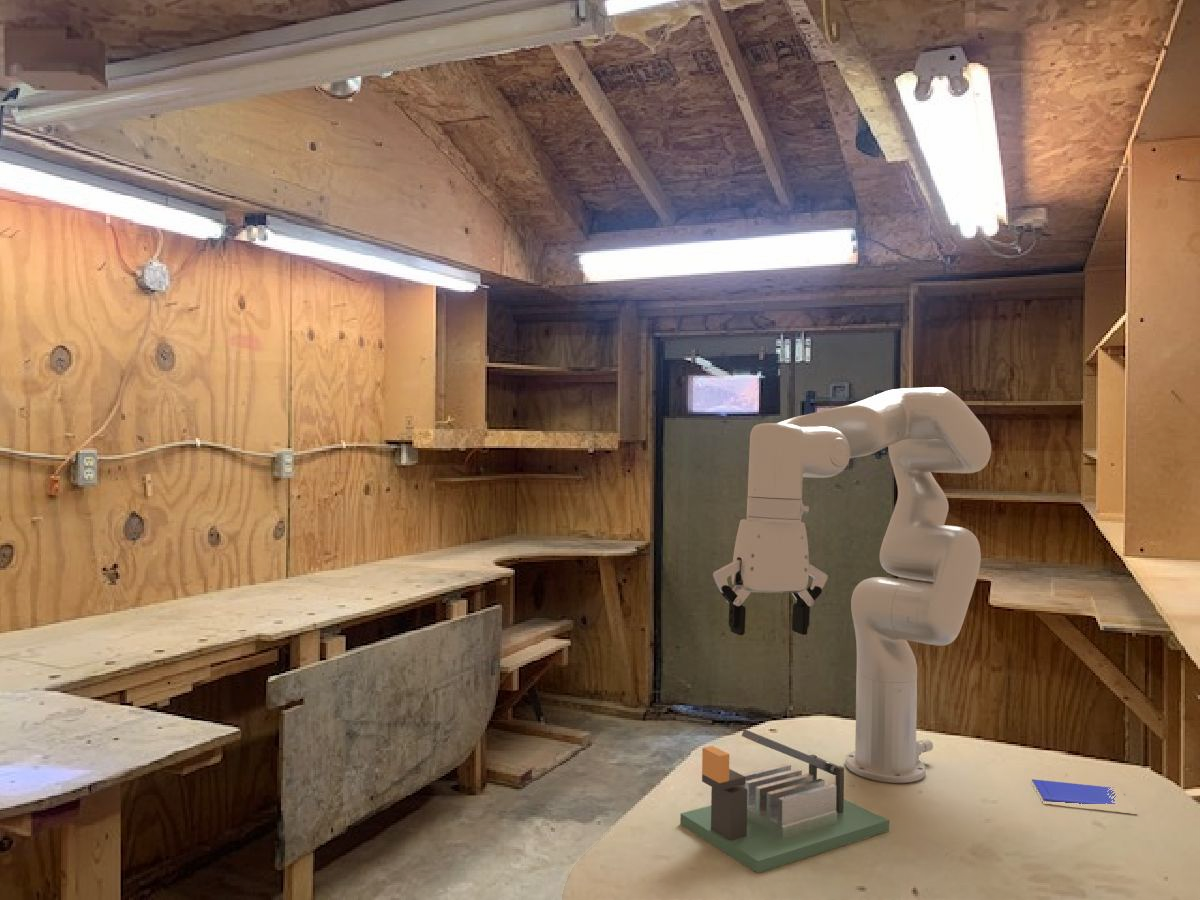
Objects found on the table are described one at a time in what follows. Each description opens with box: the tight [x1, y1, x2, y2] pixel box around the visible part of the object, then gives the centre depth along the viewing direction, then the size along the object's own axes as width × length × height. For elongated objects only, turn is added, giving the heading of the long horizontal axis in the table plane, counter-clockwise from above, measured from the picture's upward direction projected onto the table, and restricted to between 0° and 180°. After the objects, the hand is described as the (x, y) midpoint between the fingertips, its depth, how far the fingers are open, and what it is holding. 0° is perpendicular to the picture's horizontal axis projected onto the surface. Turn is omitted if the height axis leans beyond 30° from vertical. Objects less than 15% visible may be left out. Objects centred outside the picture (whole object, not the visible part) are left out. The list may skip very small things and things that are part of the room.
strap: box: [741, 728, 838, 776], centre depth 121 cm, size 17×4×1 cm, turn 121°
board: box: [679, 754, 890, 874], centre depth 120 cm, size 24×16×8 cm, turn 121°
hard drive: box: [1031, 778, 1116, 804], centre depth 132 cm, size 2×8×12 cm
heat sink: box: [740, 763, 837, 839], centre depth 120 cm, size 10×10×5 cm
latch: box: [701, 745, 745, 791], centre depth 114 cm, size 4×4×4 cm
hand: (768, 633), depth 121 cm, fingers open, 9 cm apart
